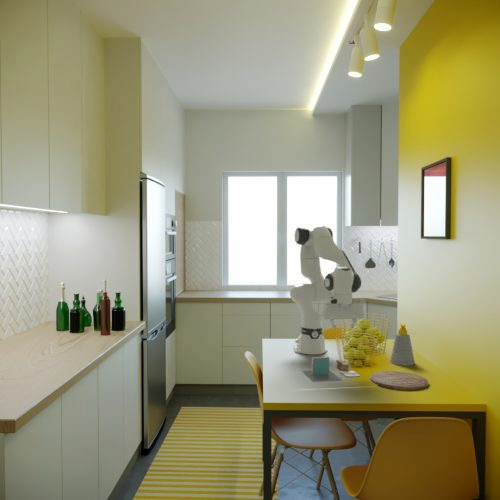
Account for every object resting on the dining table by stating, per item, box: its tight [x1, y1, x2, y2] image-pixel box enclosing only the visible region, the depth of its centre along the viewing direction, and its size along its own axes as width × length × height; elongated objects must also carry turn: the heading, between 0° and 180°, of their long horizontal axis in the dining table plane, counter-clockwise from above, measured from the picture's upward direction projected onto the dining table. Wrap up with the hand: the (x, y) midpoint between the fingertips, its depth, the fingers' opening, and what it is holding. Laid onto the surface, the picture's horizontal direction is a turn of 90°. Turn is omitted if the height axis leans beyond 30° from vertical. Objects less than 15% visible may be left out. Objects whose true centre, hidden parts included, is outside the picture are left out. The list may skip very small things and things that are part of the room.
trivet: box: [369, 370, 429, 392], centre depth 217 cm, size 25×25×2 cm
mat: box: [301, 369, 344, 383], centre depth 224 cm, size 18×14×1 cm
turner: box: [336, 359, 361, 378], centre depth 231 cm, size 18×7×4 cm, turn 11°
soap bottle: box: [389, 323, 416, 367], centre depth 252 cm, size 12×12×20 cm
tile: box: [311, 356, 330, 375], centre depth 226 cm, size 2×8×8 cm, turn 101°
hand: (343, 328), depth 234 cm, fingers open, 8 cm apart
